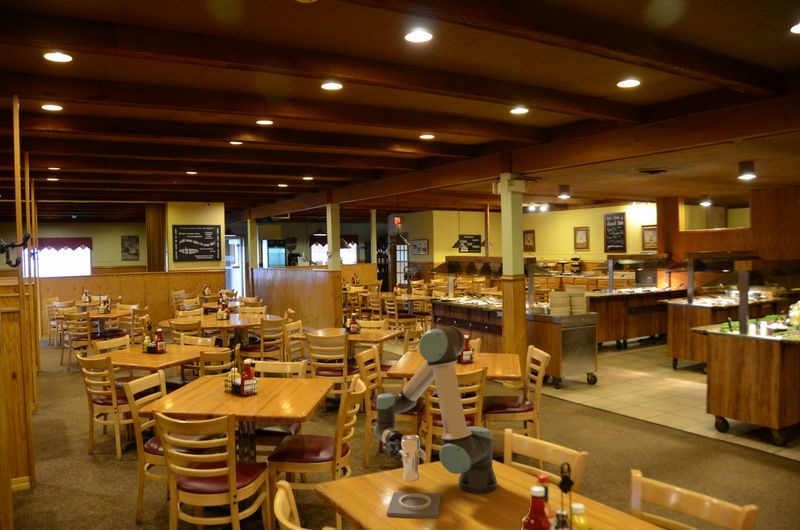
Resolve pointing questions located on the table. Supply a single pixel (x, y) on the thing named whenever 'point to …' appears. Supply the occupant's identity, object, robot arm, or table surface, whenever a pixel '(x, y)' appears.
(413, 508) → the coaster board
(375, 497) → the table surface
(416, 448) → the beer glass
